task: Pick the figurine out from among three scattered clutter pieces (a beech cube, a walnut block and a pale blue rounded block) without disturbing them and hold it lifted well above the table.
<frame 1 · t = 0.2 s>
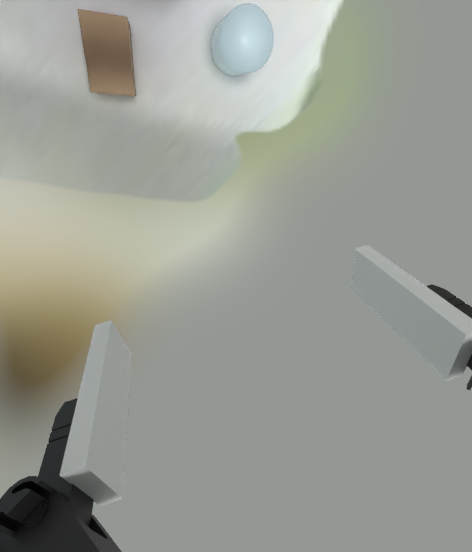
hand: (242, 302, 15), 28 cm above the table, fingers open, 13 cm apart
walnut block: (112, 60, 30), on the table
pale blue rounded block: (233, 48, 31), on the table
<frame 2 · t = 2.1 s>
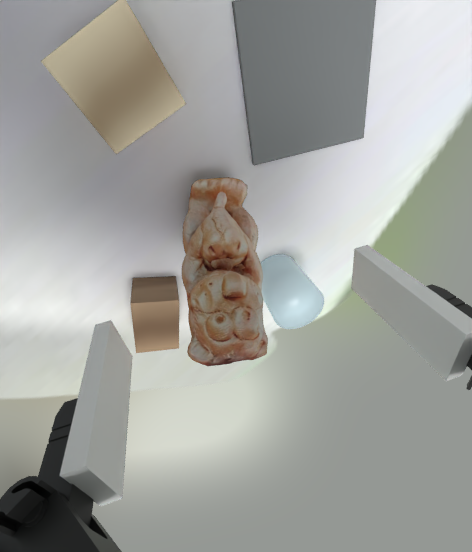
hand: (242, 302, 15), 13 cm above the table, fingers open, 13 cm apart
walnut block: (155, 300, 29), on the table
beech block: (125, 84, 19), on the table
pale blue rounded block: (275, 274, 31), on the table
grey mat: (306, 80, 21), on the table
figurine: (203, 211, 25), on the table
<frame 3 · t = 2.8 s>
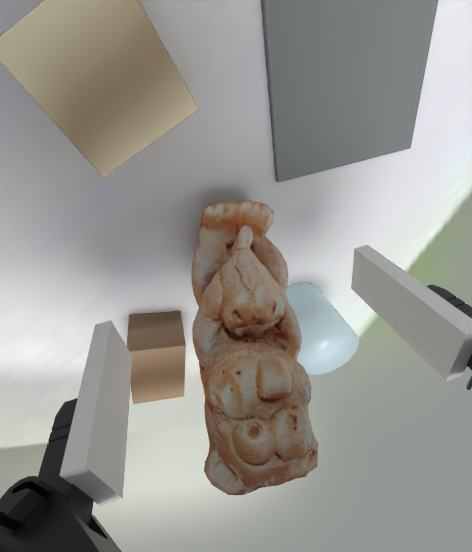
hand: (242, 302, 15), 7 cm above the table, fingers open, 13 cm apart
walnut block: (156, 338, 25), on the table
beech block: (117, 82, 14), on the table
pale blue rounded block: (296, 304, 27), on the table
grey mat: (347, 77, 17), on the table
figurine: (214, 236, 21), on the table
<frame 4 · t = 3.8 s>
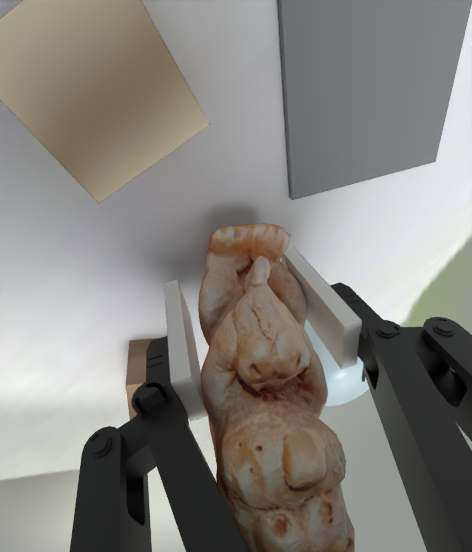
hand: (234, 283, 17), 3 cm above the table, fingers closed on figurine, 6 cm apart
walnut block: (158, 364, 23), on the table
beech block: (116, 93, 13), on the table
pale blue rounded block: (308, 326, 25), on the table
grey mat: (370, 86, 15), on the table
figurine: (222, 258, 19), on the table, touching gripper
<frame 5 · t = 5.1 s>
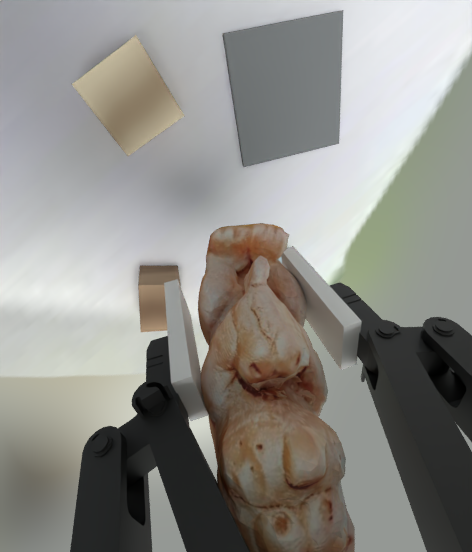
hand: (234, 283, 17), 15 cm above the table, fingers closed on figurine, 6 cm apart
walnut block: (159, 287, 33), on the table
beech block: (135, 100, 23), on the table
grey mat: (287, 95, 25), on the table
figurine: (221, 258, 19), point 12 cm above the table, touching gripper
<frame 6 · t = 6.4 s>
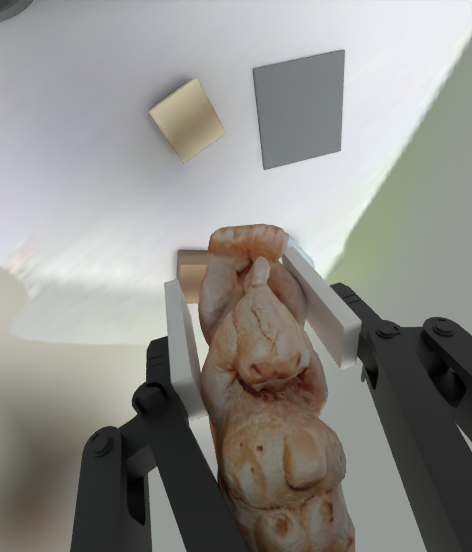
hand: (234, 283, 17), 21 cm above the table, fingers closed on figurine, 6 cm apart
walnut block: (191, 269, 40), on the table
beech block: (184, 119, 30), on the table
pale blue rounded block: (279, 250, 41), on the table
grey mat: (300, 113, 32), on the table
figurine: (221, 258, 19), point 18 cm above the table, touching gripper
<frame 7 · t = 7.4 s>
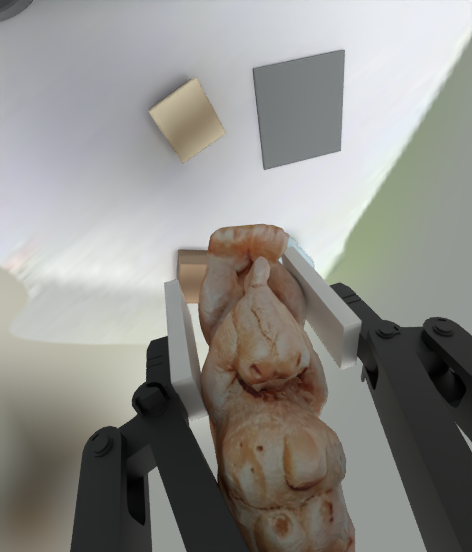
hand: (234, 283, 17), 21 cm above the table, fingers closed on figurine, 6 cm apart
walnut block: (191, 268, 40), on the table
beech block: (184, 119, 30), on the table
pale blue rounded block: (279, 250, 41), on the table
grey mat: (300, 113, 32), on the table
figurine: (221, 258, 19), point 18 cm above the table, touching gripper
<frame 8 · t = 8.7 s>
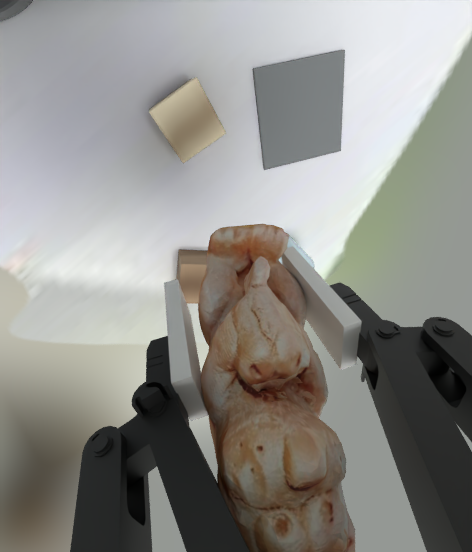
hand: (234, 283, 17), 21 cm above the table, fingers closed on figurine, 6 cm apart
walnut block: (191, 268, 40), on the table
beech block: (184, 119, 30), on the table
pale blue rounded block: (279, 250, 41), on the table
grey mat: (300, 113, 32), on the table
figurine: (221, 258, 19), point 18 cm above the table, touching gripper
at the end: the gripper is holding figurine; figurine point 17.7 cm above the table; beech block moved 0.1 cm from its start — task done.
